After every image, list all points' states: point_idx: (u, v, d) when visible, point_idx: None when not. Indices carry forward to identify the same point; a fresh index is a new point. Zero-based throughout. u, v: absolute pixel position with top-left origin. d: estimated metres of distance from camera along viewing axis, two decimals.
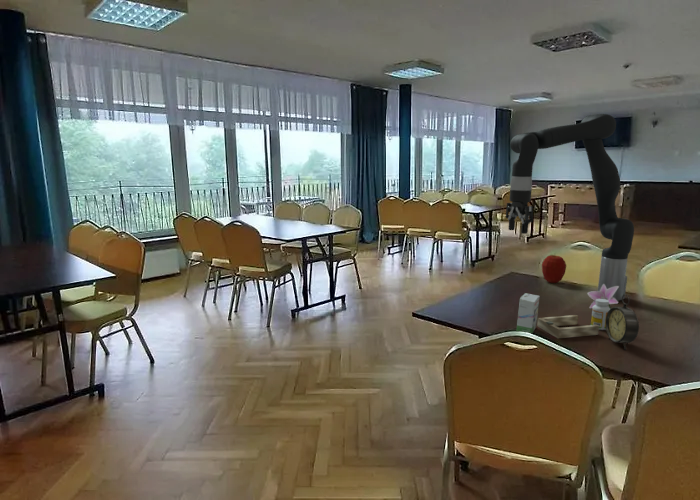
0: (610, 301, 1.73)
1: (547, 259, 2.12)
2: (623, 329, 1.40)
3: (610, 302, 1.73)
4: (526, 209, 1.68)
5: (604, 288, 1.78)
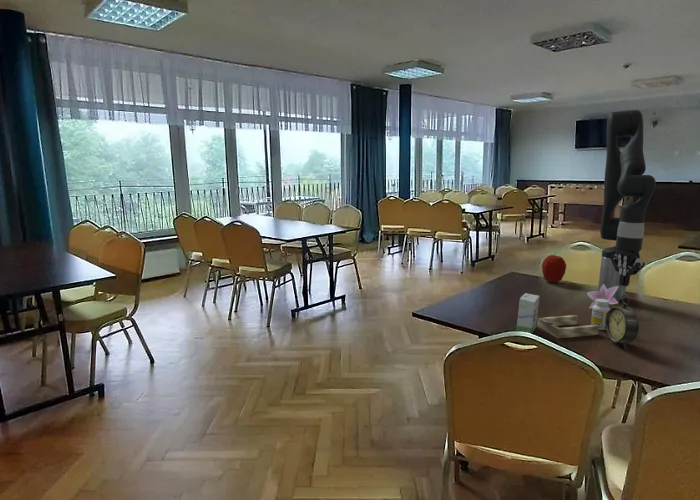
0: (610, 301, 1.73)
1: (547, 259, 2.12)
2: (623, 329, 1.40)
3: (610, 303, 1.73)
4: (636, 265, 1.51)
5: (604, 288, 1.78)
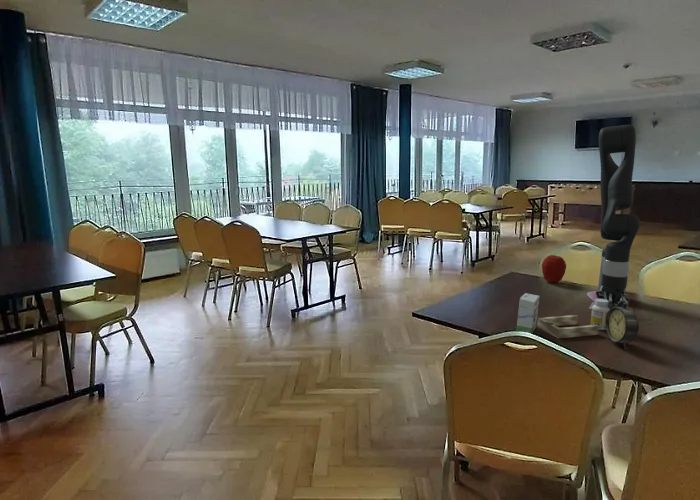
0: None
1: (547, 259, 2.12)
2: (623, 329, 1.40)
3: None
4: (621, 303, 1.52)
5: None
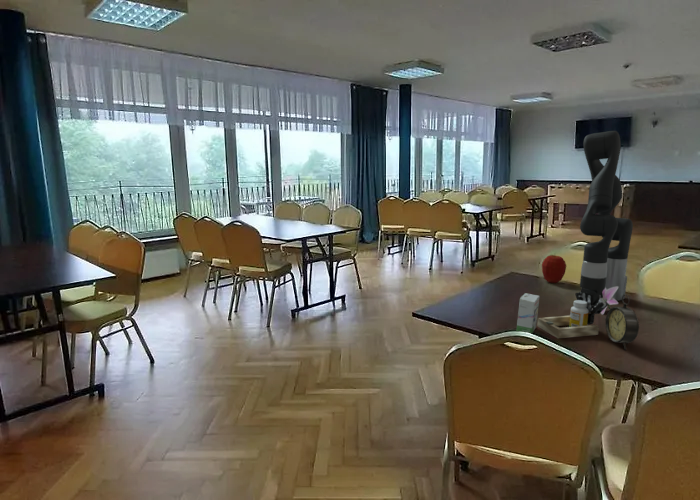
0: (610, 302, 1.73)
1: (547, 259, 2.12)
2: (623, 329, 1.40)
3: (610, 303, 1.72)
4: (599, 305, 1.50)
5: None
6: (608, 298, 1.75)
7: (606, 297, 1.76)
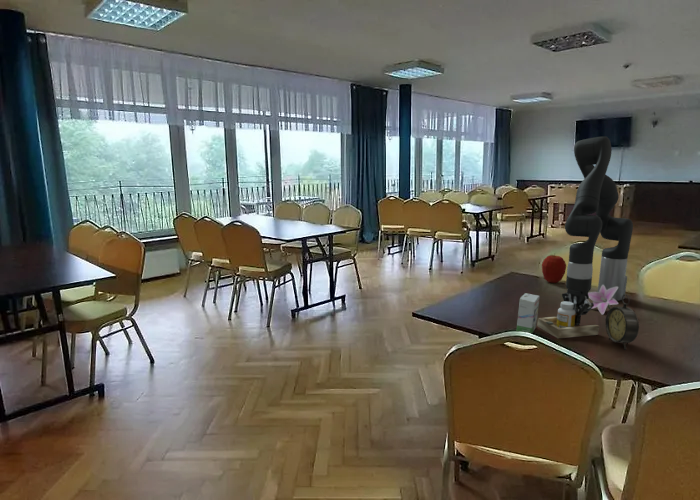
0: (610, 302, 1.73)
1: (547, 259, 2.12)
2: (623, 329, 1.40)
3: (610, 303, 1.72)
4: (585, 306, 1.49)
5: (603, 289, 1.77)
6: (608, 298, 1.74)
7: (606, 297, 1.76)
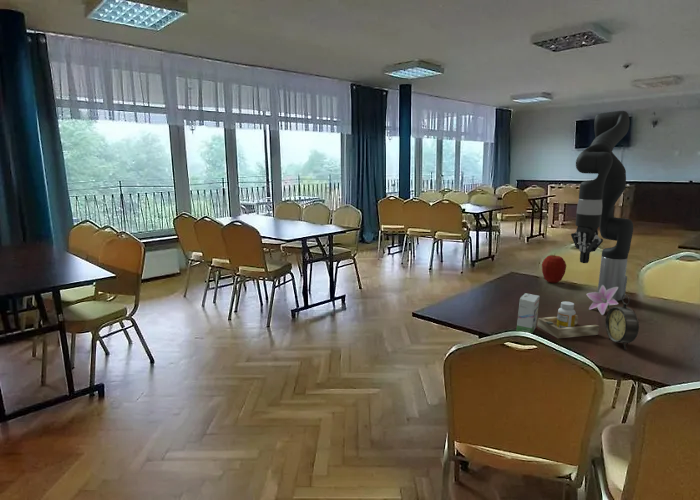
0: (610, 302, 1.72)
1: (547, 259, 2.12)
2: (623, 329, 1.40)
3: (610, 303, 1.72)
4: (594, 241, 1.52)
5: (603, 289, 1.77)
6: (608, 298, 1.74)
7: (606, 297, 1.75)
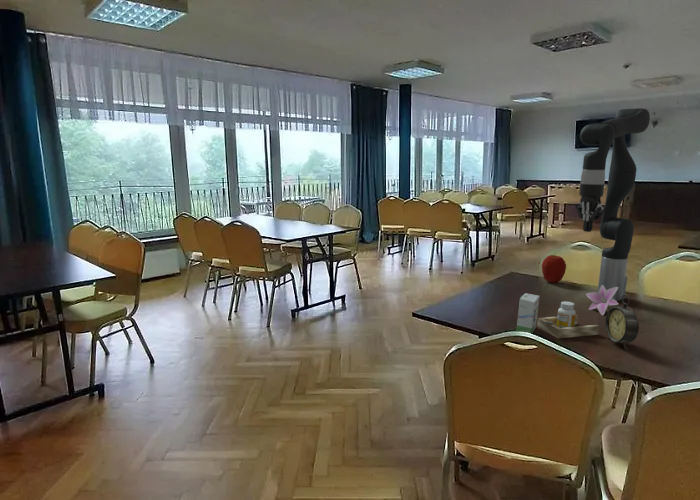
0: (610, 302, 1.72)
1: (547, 259, 2.12)
2: (623, 329, 1.40)
3: (610, 304, 1.71)
4: (597, 210, 1.60)
5: (603, 289, 1.77)
6: (608, 299, 1.74)
7: (606, 298, 1.75)
